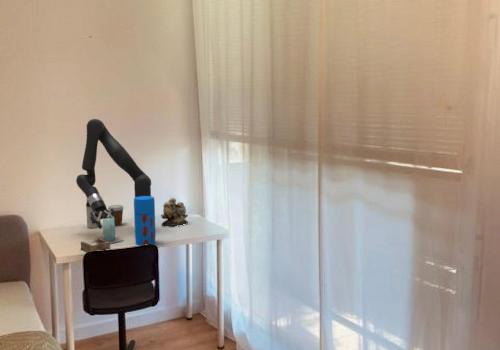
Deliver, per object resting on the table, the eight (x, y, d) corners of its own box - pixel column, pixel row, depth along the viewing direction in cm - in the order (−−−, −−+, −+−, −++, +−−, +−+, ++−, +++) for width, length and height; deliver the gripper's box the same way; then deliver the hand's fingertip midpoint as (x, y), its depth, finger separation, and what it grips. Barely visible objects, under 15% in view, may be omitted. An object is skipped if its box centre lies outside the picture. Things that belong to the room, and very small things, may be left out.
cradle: (99, 245, 258) (98, 238, 257) (110, 249, 250) (109, 242, 250) (80, 249, 250) (80, 241, 250) (91, 253, 243) (91, 246, 242)
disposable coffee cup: (119, 227, 296) (119, 208, 294) (105, 226, 298) (104, 207, 296) (126, 223, 305) (126, 205, 304) (113, 222, 307) (112, 204, 306)
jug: (111, 238, 270) (110, 217, 268) (119, 241, 264) (118, 219, 262) (101, 240, 265) (100, 218, 264) (109, 243, 259) (108, 221, 258)
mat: (113, 237, 273) (113, 236, 273) (123, 241, 266) (123, 240, 265) (95, 241, 265) (95, 240, 265) (105, 245, 258) (105, 244, 258)
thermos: (137, 240, 267) (135, 196, 264) (156, 239, 268) (155, 195, 265) (134, 246, 256) (132, 199, 253) (154, 245, 257) (153, 199, 254)
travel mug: (100, 228, 294) (98, 199, 292) (86, 228, 293) (85, 199, 290) (101, 224, 302) (100, 196, 299) (88, 225, 300) (86, 197, 298)
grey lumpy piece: (165, 228, 293) (164, 201, 291) (157, 225, 302) (156, 198, 300) (191, 224, 304) (190, 197, 301) (182, 220, 313) (181, 195, 311)
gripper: (87, 201, 264) (98, 225, 257) (110, 197, 274) (122, 220, 268) (82, 209, 268) (94, 232, 262) (106, 205, 278) (117, 228, 272)
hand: (108, 226), depth 265 cm, fingers open, 8 cm apart
